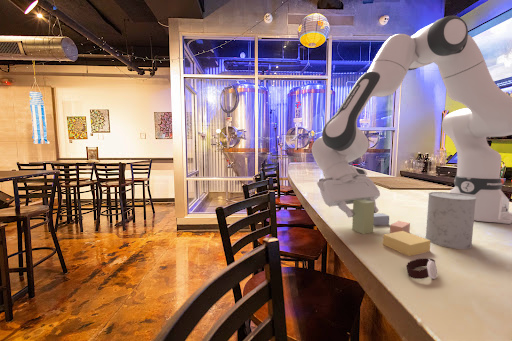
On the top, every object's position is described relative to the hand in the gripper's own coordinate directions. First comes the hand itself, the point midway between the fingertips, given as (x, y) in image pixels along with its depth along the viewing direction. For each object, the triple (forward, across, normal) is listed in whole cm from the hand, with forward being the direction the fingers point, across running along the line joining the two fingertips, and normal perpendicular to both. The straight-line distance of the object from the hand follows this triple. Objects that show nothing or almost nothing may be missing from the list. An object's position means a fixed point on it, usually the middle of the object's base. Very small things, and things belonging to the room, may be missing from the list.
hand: (364, 214), depth 69 cm
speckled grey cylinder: (+14, +14, -7) cm, 21 cm away
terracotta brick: (+8, +8, 0) cm, 11 cm away
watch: (+19, -9, -11) cm, 24 cm away
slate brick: (+1, +10, +6) cm, 12 cm away
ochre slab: (+13, 0, -5) cm, 14 cm away
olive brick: (+3, 0, +4) cm, 5 cm away
